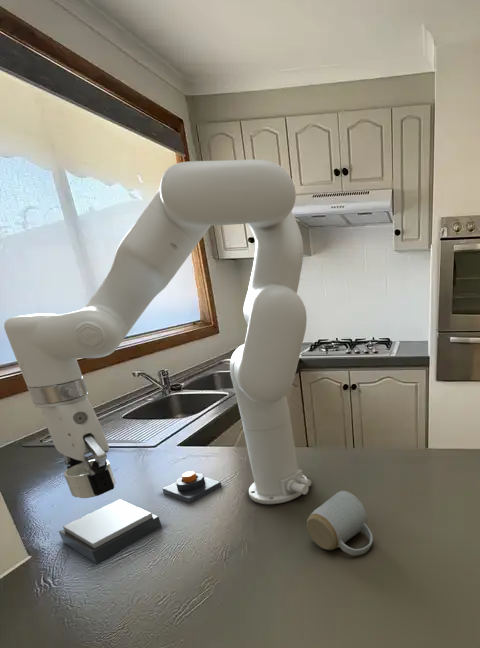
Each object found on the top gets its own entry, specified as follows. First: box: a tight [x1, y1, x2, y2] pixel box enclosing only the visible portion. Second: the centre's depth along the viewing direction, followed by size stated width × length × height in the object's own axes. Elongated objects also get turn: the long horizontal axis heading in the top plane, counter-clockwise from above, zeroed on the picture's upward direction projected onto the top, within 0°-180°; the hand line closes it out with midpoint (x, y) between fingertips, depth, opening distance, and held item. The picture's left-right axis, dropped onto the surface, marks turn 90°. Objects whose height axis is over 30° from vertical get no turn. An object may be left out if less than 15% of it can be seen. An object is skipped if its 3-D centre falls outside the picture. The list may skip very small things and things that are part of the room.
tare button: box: [181, 470, 197, 483], centre depth 93 cm, size 3×3×2 cm
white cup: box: [63, 459, 117, 499], centre depth 75 cm, size 7×7×5 cm
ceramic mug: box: [306, 490, 374, 556], centre depth 71 cm, size 11×8×8 cm
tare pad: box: [162, 472, 222, 505], centre depth 94 cm, size 10×8×3 cm
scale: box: [58, 498, 162, 565], centre depth 79 cm, size 13×12×4 cm
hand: (94, 486), depth 76 cm, fingers closed on white cup, 6 cm apart
